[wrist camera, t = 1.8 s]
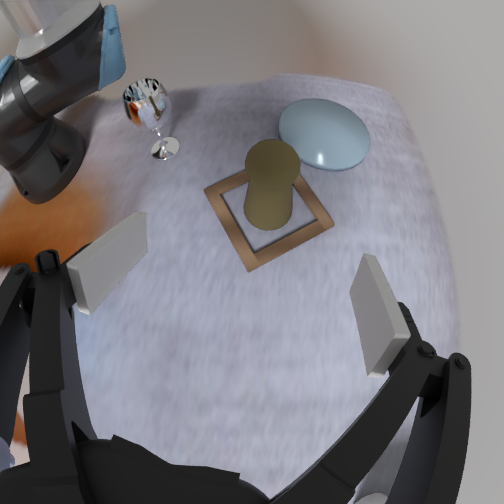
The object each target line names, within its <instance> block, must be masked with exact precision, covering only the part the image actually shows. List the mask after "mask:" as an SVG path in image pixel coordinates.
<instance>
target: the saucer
mask: <svg viewBox="0 0 504 504" xmlns="http://www.w3.org/2000/svg"><path fill="white" fill-rule="evenodd" d="M279 136H280V139H281V141H283V142H285V143H288V144H289V145H290V146H291V147H293V149H294V150H295V151H296V153H297V154H298V156H299V160H300V161H301V162H303V163H305V164H307V165H309V166H311V167H314V168H317V169H321V170H327V171H344V170H348V169H351V168H353V167H355V166H357V165H358V164H360V163H361V162H362V161H363V160H364V158H365V156H366V155H367V153H368V151H369V148H370V135H369V132H368V130H367V128H366V126H365V124H364V123H363V121H362V120H361V119H360V118H359V117H358V116H357V115H356V114H355V113H353V112H352V111H351V110H349V109H348V108H346V107H344V106H342V105H340V104H338V103H335V102H332V101H329V100H324V99H304V100H300V101H297V102H294V103H292V104H291V105H289V106H288V107H287V108H286V109H285V110H284V111H283V112H282V114H281V116H280V120H279Z"/></svg>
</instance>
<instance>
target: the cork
mask: <svg viewBox="0 0 504 504" xmlns="http://www.w3.org/2000/svg"><path fill="white" fill-rule="evenodd" d="M245 170H246V174H247V176H248V178H249V185H248V189H247V194H246V198H245V203H244V214H245V216H246V218H247V220H248V221H249V222H250V223H251V224H252V225H253V226H255V227H257V228H259V229H262V230H276V229H278V228H281V227H283V226H284V225H285V224H286V223H287V222H288V221H289V219H290V217H291V214H292V184H293V183H294V182H295V180H296V179H297V177H298V175H299V172H300V160H299V156H298V154H297V153H296V151H295V150H294V149H293V147H291V146H290V145H289V144H288V143H285V142H283V141H281V140H276V139H268V140H264V141H260V142H259V143H257V144H256V145H254V146H253V147H252V148H251V149H250V150H249V152H248V153H247V156H246V160H245Z"/></svg>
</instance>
